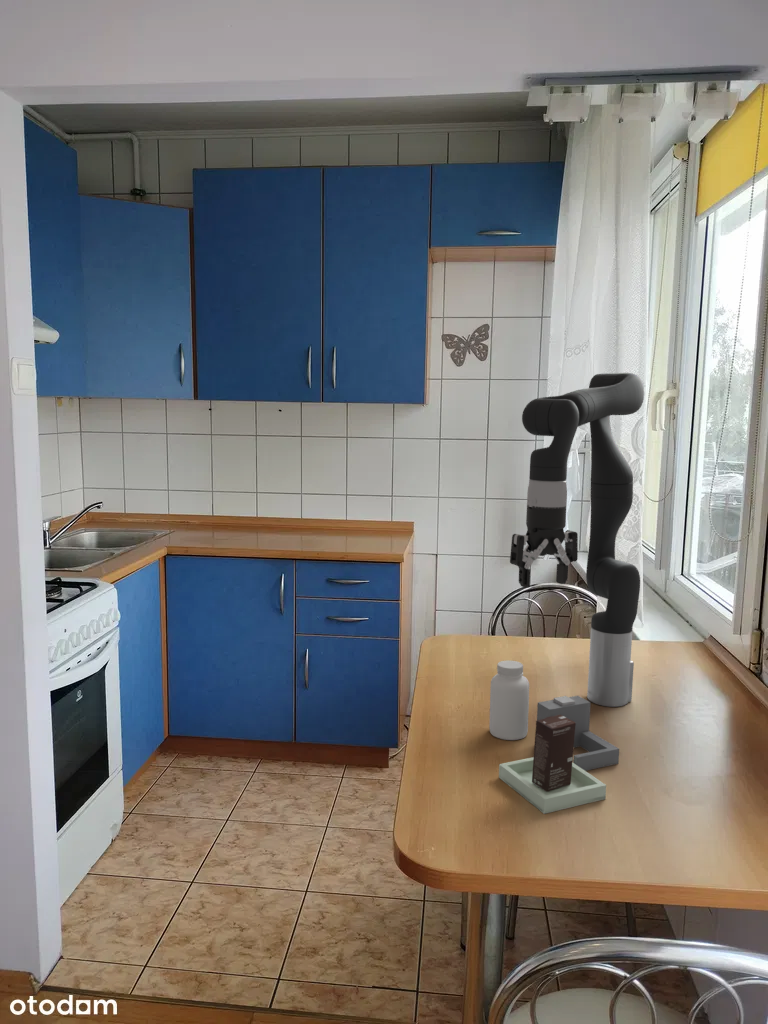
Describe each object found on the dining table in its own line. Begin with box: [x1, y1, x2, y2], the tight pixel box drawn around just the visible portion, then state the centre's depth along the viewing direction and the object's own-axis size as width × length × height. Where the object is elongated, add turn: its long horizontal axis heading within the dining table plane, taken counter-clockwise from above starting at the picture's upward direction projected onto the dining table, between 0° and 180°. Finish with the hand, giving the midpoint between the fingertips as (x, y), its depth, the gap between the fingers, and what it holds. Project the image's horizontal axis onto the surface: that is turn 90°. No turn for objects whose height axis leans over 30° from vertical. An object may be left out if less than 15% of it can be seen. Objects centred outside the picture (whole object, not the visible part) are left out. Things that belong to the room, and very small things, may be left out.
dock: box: [536, 695, 620, 772], centre depth 155 cm, size 10×13×10 cm
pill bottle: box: [489, 660, 530, 741], centre depth 164 cm, size 8×8×15 cm
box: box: [532, 715, 576, 792], centre depth 141 cm, size 6×4×12 cm
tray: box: [498, 756, 607, 815], centre depth 141 cm, size 13×14×3 cm
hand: (542, 585), depth 155 cm, fingers open, 8 cm apart
